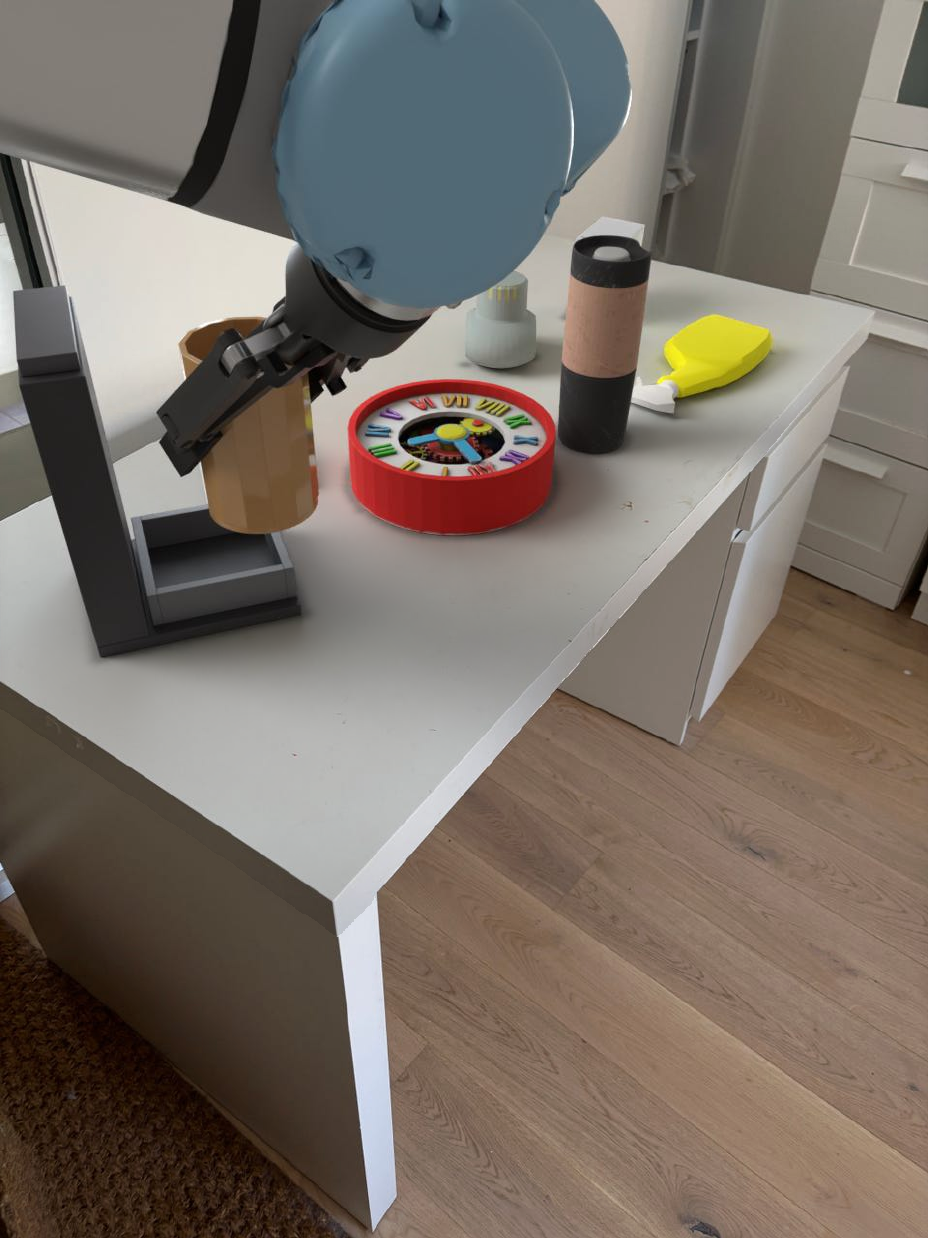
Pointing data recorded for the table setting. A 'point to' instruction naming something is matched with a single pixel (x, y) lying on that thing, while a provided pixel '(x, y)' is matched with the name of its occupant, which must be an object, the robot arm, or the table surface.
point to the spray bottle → (705, 360)
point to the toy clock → (451, 456)
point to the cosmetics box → (614, 229)
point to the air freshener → (502, 325)
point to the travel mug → (601, 341)
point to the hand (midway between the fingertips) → (225, 435)
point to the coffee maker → (97, 527)
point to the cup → (258, 449)
